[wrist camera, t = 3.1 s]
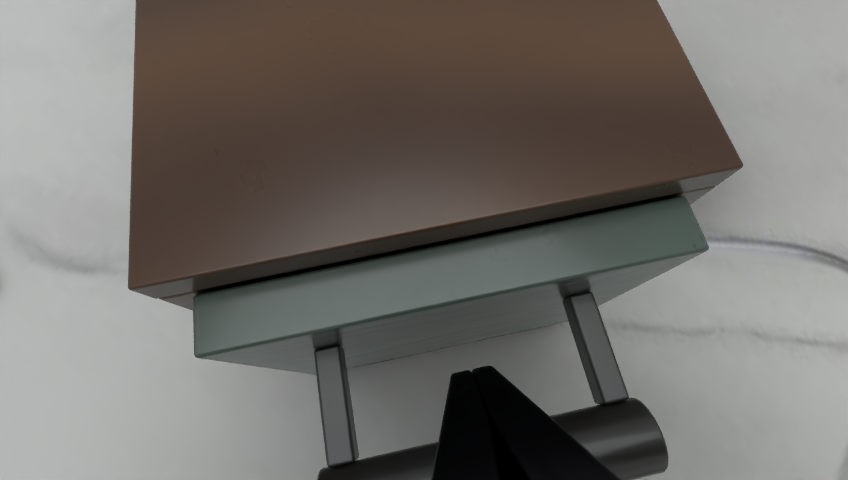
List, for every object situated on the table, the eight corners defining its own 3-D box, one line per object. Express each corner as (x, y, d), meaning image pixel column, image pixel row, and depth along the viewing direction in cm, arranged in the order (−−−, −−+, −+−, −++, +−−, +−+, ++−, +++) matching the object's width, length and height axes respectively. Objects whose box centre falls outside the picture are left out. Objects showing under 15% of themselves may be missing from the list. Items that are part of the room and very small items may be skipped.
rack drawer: (605, 429, 15) (817, 477, 7) (330, 493, 15) (198, 628, 6) (488, 66, 21) (527, -152, 12) (284, 103, 20) (181, -100, 12)
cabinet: (568, 292, 18) (745, 165, 8) (303, 349, 17) (126, 290, 7) (485, 42, 22) (531, -242, 12) (274, 80, 22) (140, -188, 12)
